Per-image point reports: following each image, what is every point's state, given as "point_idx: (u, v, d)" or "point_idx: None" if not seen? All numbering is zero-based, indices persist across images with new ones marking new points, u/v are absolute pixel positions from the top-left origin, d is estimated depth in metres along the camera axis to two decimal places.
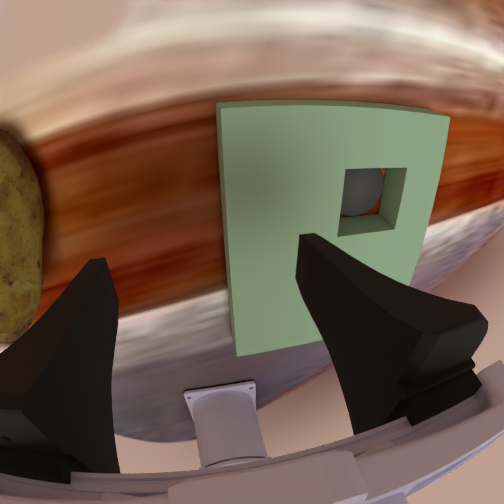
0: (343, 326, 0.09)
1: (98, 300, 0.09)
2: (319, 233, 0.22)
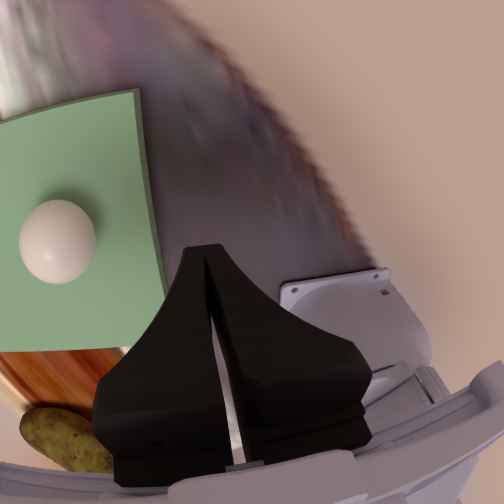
0: (226, 348, 0.09)
1: (206, 288, 0.10)
2: None
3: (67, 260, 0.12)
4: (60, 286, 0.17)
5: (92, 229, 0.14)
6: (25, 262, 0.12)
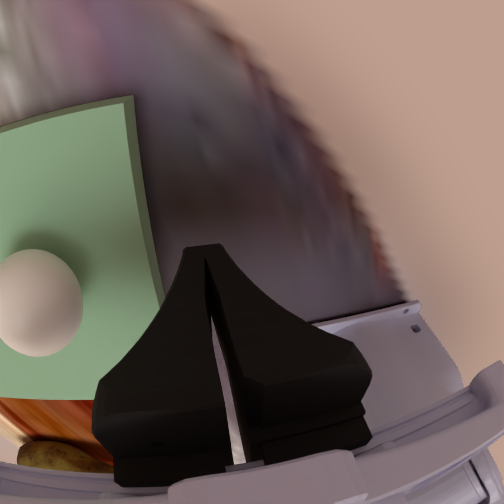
0: (226, 348, 0.09)
1: (206, 288, 0.10)
2: None
3: (47, 336, 0.09)
4: None
5: (77, 289, 0.10)
6: None
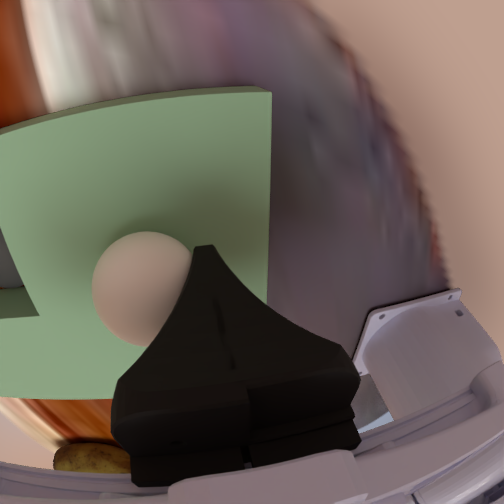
0: None
1: None
2: (43, 335, 0.13)
3: None
4: None
5: None
6: (102, 319, 0.09)
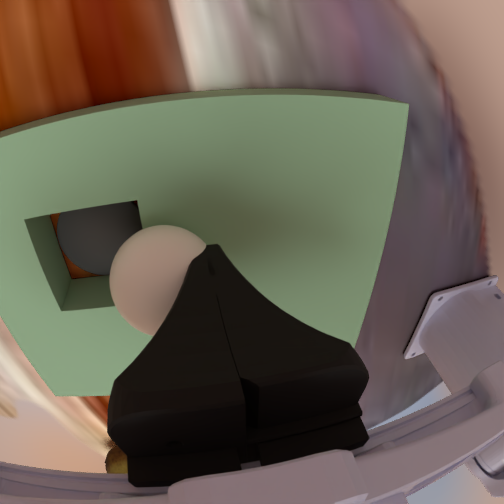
0: None
1: None
2: None
3: None
4: None
5: (110, 290, 0.10)
6: None
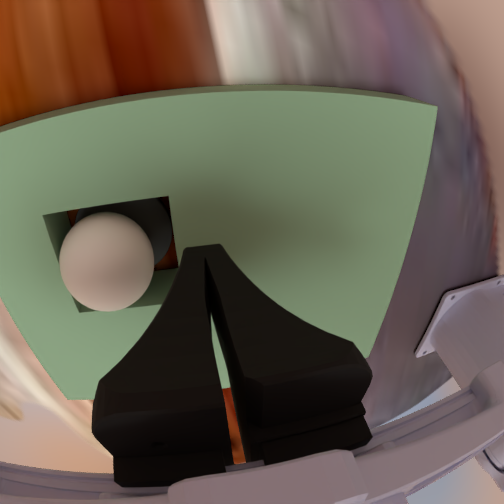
0: (226, 347, 0.09)
1: (206, 288, 0.10)
2: None
3: None
4: None
5: None
6: (143, 274, 0.12)
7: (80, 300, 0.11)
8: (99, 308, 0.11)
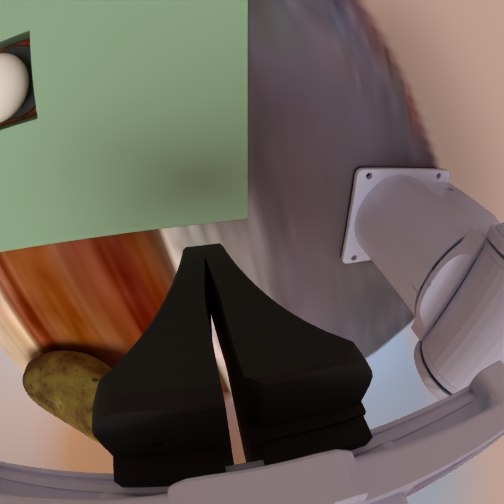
0: (226, 348, 0.09)
1: (206, 288, 0.10)
2: (34, 145, 0.14)
3: None
4: (122, 132, 0.15)
5: None
6: (16, 81, 0.11)
7: None
8: None
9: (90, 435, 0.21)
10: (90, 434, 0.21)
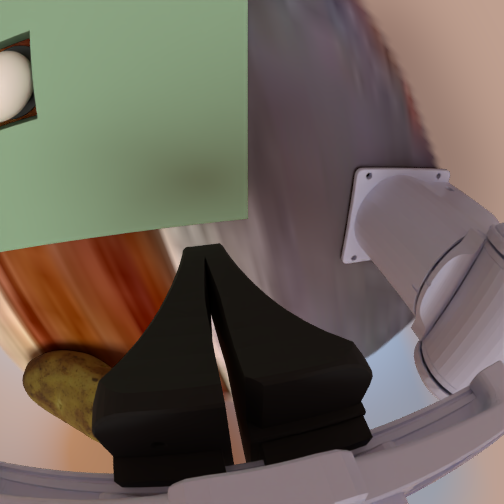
0: (226, 348, 0.09)
1: (206, 288, 0.10)
2: (34, 145, 0.14)
3: None
4: (122, 132, 0.15)
5: None
6: (27, 77, 0.11)
7: None
8: None
9: (90, 435, 0.21)
10: (90, 433, 0.21)
